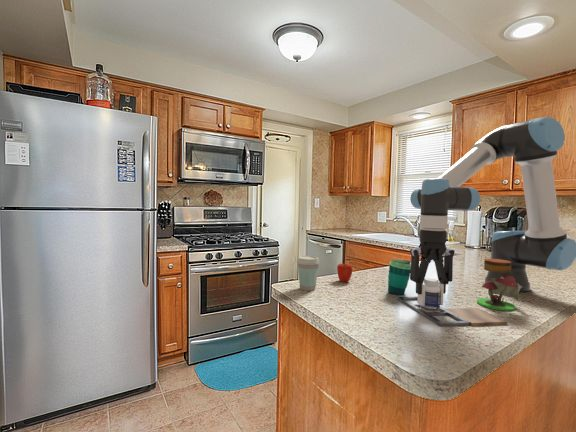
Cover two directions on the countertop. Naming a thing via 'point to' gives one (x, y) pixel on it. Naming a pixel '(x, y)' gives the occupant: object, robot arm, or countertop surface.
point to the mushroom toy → (499, 286)
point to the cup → (398, 276)
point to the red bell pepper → (344, 272)
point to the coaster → (477, 316)
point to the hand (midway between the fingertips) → (430, 303)
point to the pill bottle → (431, 296)
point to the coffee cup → (308, 272)
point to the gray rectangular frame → (435, 313)
